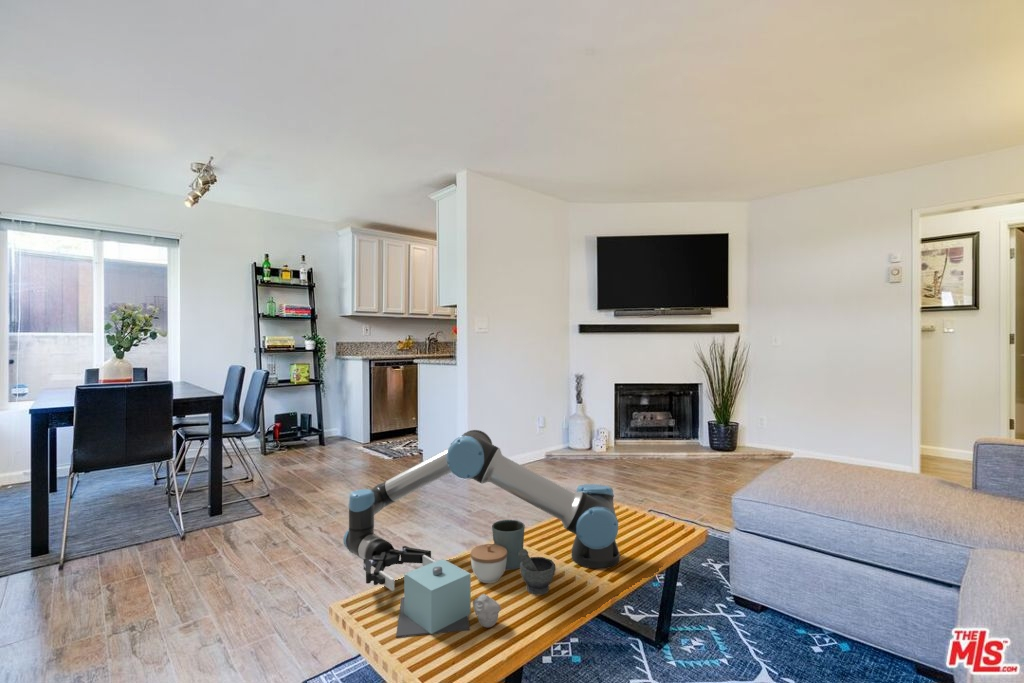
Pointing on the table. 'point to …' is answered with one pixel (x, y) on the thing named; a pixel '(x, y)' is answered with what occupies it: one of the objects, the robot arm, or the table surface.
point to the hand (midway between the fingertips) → (415, 575)
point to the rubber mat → (413, 629)
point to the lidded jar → (488, 562)
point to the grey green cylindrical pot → (509, 540)
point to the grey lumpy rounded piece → (486, 610)
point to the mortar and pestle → (536, 572)
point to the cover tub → (437, 595)
